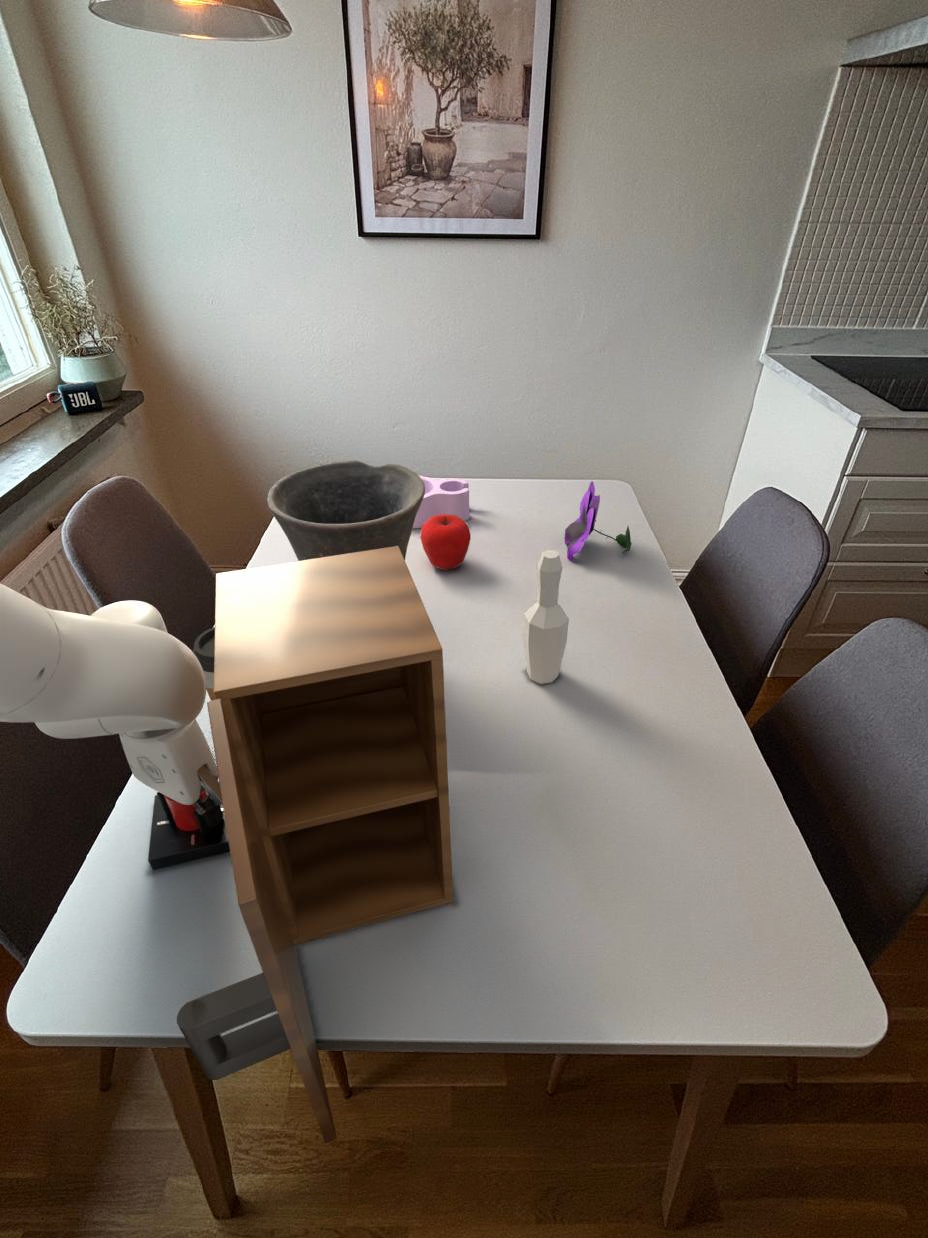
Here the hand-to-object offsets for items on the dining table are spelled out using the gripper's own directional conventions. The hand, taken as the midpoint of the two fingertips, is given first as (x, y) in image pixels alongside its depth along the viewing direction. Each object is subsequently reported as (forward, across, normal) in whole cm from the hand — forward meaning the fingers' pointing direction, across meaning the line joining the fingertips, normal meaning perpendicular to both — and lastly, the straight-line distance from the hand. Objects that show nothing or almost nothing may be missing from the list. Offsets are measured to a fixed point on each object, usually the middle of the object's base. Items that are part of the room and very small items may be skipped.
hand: (194, 815), depth 84 cm
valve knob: (0, 0, 0) cm, 0 cm away
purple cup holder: (+3, -20, +86) cm, 88 cm away
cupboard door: (+2, +26, -15) cm, 30 cm away
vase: (+2, -1, +38) cm, 38 cm away
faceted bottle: (+2, +26, +47) cm, 54 cm away
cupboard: (+2, +20, +6) cm, 22 cm away
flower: (+3, +20, +88) cm, 91 cm away
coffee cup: (+2, -8, +17) cm, 19 cm away
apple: (+3, -4, +69) cm, 69 cm away
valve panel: (+2, 0, 0) cm, 2 cm away
